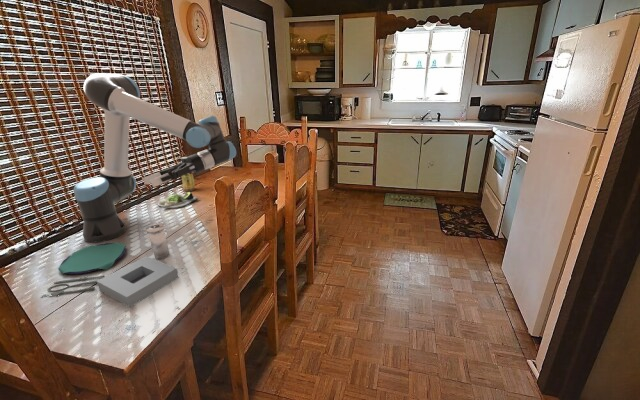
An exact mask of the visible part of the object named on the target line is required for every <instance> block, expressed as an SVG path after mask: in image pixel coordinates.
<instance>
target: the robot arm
mask: <svg viewBox="0 0 640 400" xmlns="http://www.w3.org/2000/svg"><path fill="white" fill-rule="evenodd" d="M83 91H84V94H85V97H86V98H87V99H88V100H89V102H90V103H92V104H93V105H95V106H97V107H99V108H100V109H101V110H102V111H103V112H104V135H103V137H104V140H103V141H104V145H103V146H104V147H103V148H104V149H103V150H104V152H103V153H104V159H103V161H104V163H103V164H104V165H103V167H102V168H100V170H99V177H98V176H97V177H92V178H91V177H90V178H88V179H85V180H82V181H79V182H78V183H77V184H75V186H73V192H74V198H75V200H76V203H77V205H78V208H79V212H80V215H81V217H82V220H83V227H82V237H83V240H84V241H85V242H87V243H102V242H106V241H110V240H112V239H113V240H114V239H116V238H118V237H120V236H121V235H123V234H125V233H126V232H127V227H126V224H125V222H124V221H123V219H122V218H121V217H120V215H118V213H117V209H116V205H115V204H116V203H118V202H121V201H122V200H124V199H126V198H128V197H129V196H131V195H132V194H133V193H134V191H135V190H136V187H137V181H136V178H135V177H134V175H133V174H132V173H133V172H132V170H131V169H130V168H129V147H130V146H129V144H130V143H129V140H130V139H129V138H130V118H132V119H135V120H137V121H140V122H141V123H144V124H146V125H149V126H151V127H153V128H156V129H158V130H161V131H163V132H165V133H167V134H170V135H173V136H175V137H177V138H179V139H182V140H184V141H186V142H187V144H188V145H189V146H191V147H192V148H195V149H201V148H205V147H206V146H208V148H207V149H204V150H201V151H198V152H197V153H194V154H190V155H188V156H186V157H187V161H188V163H182V162H181V163H180V164H176V165H175V166H171V167H168V168H165V169H160V170H159V171H158V172H156V173H153V174H149V175H148V176H145V177H142V181H143V182H144V184H145V185H149V184H151V186H152V187H153V188H156V187H157V186H160V185H163V184H164V183H168V182H170V181H172V180H178V179H179V178H182V176H183V175H185V174H187V173H189V172H191V171H192V173H193V174H198V173H200V172H203V171H205V170H212V169H213V168H212V167H215V166H218V165H221V164H224V163H225V162H229V161H230V160H232V159H234V158H235V157H236V156H237V149H236V147H235V145H234V143H233V142H232V141H229V140H228V141H227V140H226V138H225V135H224V133H223V130H222V127H221V125H220V122H219V121H218V118H217V117H216V116H214V115H210V116H207V117H204V118H200V119H199V120H198V123H197V122H194V121H192V120H190V119H189V118H185V117H183V116H181V115H178V114H176V113H174V112H172V111H169V110H167V109H165V108H163V107H160V106H158V105H155V104H154V103H151V102H148V101H146V100H145V99H142V98H140V97H141V91H140V88H139V86H138V84H137V83H136V82H135V81H134V79H132V78H131V77H129V76H127V75H124V74H119V73H94V74H91V75H90V76H88V77H87V78H86V79H85V81H84V83H83Z"/></svg>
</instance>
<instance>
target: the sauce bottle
mask: <svg viewBox="0 0 640 400" xmlns="http://www.w3.org/2000/svg"><path fill="white" fill-rule="evenodd" d="M187 157H188V156H182V157H180V161H181V163H188V161H187ZM181 181H182V187H183V190H184V192H192V191H195V189H196V188H195V180H194V172H193V171H191V172H189V173H187V174H185V175H183V176H181Z"/></svg>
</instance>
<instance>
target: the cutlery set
mask: <svg viewBox="0 0 640 400" xmlns="http://www.w3.org/2000/svg"><path fill="white" fill-rule="evenodd" d="M126 251H127V245H125V244H124V243H122V242H106V243H100V244H99V243H98V244H95V245H94V244H92V245H89V246H85V247H83V248H81V249H79V250H76V251H74V252H72V253H71V255H69V256H67V257H66V258H65V259H63V261H62V262H61V263H60V265H59V266H58V268H57V269H58V271H59V272H60V273H61V274H63V275H66V274H69V275H79V274H80V275H82V274H87V273H91V272H94V271H97V270H101V269H102V270H105V271H106V270H109V269H111V268H112V267H113V265H114V263H115V262H117V261H119V260H120V259H121V258H122V257H123V256H124V255H125V253H126ZM104 277H106V275H100V276H90V277H87V276H85V277H80V278H73V279H63V280H59V281H56V282H54V283H53V284H54V285H53V286H50V287H48V288H47V291H49V292H51V293H50V294H51V295H52V296H56V297H59V296H61V294H63V295H65V294H67V295H69V294H76V293H83V292H89V291H95V290H96V288H95V286H92V287H91V286H90V287H86V288H82V289H76V290H66V291H65V289H67V288H68V289H69V288H72V287H78V286H85V285H92V284H97V281H98V280H99V279H98V278H100V279H102V278H104ZM92 279H97V280H92ZM86 280H92V281H86ZM82 281H84V282H82ZM73 282H80V283H77V284H72V285H70V284H68V283H73ZM62 286H66V287H64V288H61V289H60V288H59V289H57V290H55V291H54V292H52V290H53V289H54V288H55V289H56V288H57V287H62ZM46 294H47V293H45V294H44V295H41V297H40V299H43V296H46ZM58 295H59V296H58Z"/></svg>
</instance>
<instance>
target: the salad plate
mask: <svg viewBox="0 0 640 400" xmlns="http://www.w3.org/2000/svg"><path fill="white" fill-rule="evenodd" d="M198 199H199V197H196V196H195V195H193V193H192V191H187V192H186V193H185V194H180V193H179V194H173V195H171V196H168V197H167V198H164V199H161V200H160V201H158V202H157V206H159V207H161V208H162V209H178V208H182V207H185V206H187V205H190V204H192V203H193V202H195V201H197V200H198ZM166 204H168V205H166Z"/></svg>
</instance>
